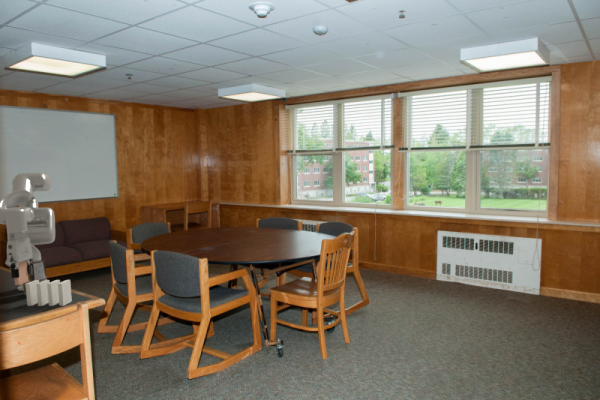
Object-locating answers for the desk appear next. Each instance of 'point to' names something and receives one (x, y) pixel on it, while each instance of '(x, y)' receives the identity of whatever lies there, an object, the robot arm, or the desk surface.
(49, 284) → the domino
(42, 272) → the coffee box
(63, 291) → the domino
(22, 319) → the desk surface
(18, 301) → the desk surface
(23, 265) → the domino
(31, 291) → the domino
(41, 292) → the domino
